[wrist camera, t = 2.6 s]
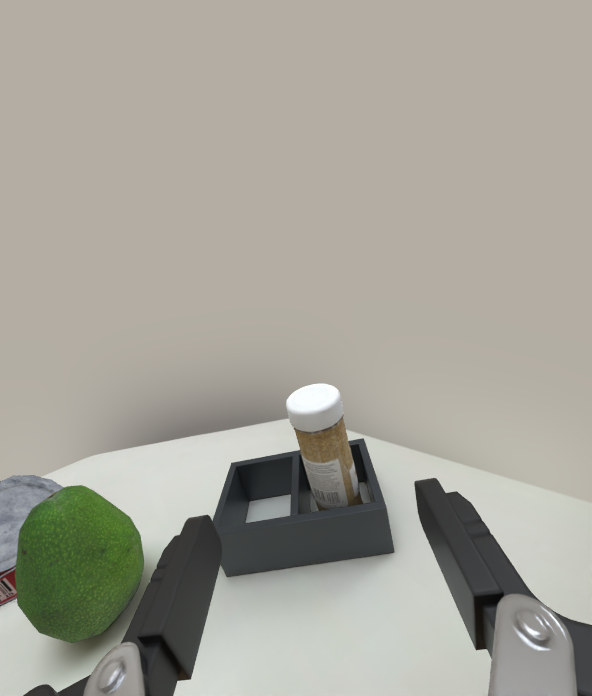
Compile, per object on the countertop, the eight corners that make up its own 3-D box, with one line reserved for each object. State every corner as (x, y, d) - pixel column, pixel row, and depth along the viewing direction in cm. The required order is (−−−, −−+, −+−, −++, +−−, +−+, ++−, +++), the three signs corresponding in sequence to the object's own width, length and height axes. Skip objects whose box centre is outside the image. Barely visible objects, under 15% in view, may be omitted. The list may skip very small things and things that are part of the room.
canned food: (89, 538, 38) (99, 467, 37) (60, 611, 28) (72, 517, 28) (-25, 551, 33) (-16, 470, 33) (-104, 643, 24) (-93, 532, 24)
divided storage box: (370, 474, 31) (363, 438, 29) (394, 552, 23) (386, 507, 21) (244, 496, 32) (231, 462, 30) (226, 577, 24) (207, 536, 23)
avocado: (173, 549, 28) (120, 454, 24) (133, 656, 21) (47, 544, 17) (98, 565, 28) (34, 474, 24) (31, 677, 21) (-75, 571, 17)
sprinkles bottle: (374, 508, 27) (350, 386, 23) (348, 547, 24) (315, 417, 20) (336, 487, 30) (309, 378, 26) (309, 520, 27) (273, 403, 23)
